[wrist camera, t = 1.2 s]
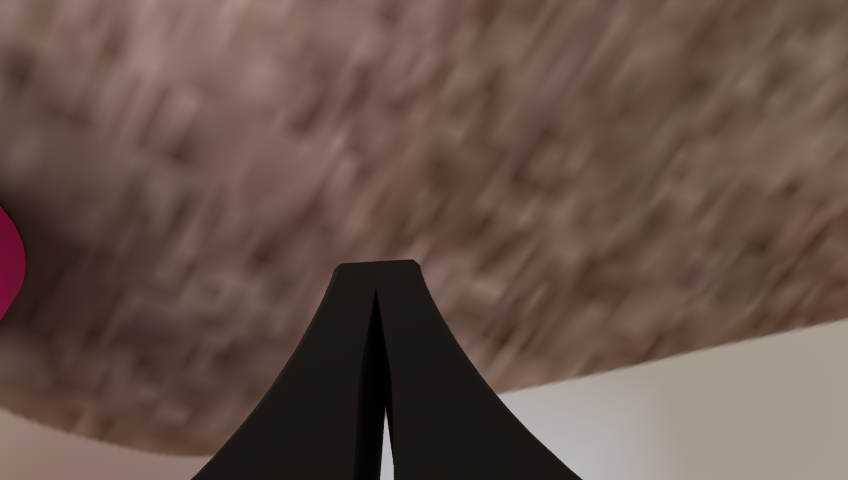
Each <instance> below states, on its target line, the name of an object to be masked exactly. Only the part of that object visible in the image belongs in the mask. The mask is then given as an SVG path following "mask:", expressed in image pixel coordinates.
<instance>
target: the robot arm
mask: <svg viewBox="0 0 848 480" xmlns="http://www.w3.org/2000/svg"><path fill="white" fill-rule="evenodd" d="M385 405H386V413H387V420H388V428H389V435H390V442H391V450H392V457H393V464H394V480H582V479H581V478H580V477H579V476H577V475H576V474H575V473H574V472H573V471H571V470H570V469H569V468H568V467H567V466H566V465H565V464H564V463H563V462H562V461H561V460H559V459H558V458H557V457H556V456H555V455H554V454H553V453H552V452H551V451H550V450H548V449H547V447H545V446H544V445H543V444H542V443H541V442H540V441H539V440H538V439H537V438H536V437H535V436H534V435H532V434H531V433H530V432H529V430H528V429H526V427H525V426H524V425H523V424H522V423H521V422H520V421H519V420H518V419H517V418H516V417H515V416H514V415H513V414H512V412H511V411H510V410H509V409H508V408H507V407H506V406H505V404H504V403H503V402H502V401H501V400H500V399H499V397H498V396H497V395H496V394H495V393H494V392H493V390H492V389H491V388H490V387H489V385H488V384H487V383H486V382H485V380H484V379H483V378H482V376H481V375H480V374H479V372H478V371H477V370H476V368H475V367H474V366H473V364H472V363H471V361H470V360H469V359H468V357H467V356H466V354H465V353H464V351H463V350H462V348H461V347H460V345H459V344H458V342H457V341H456V339H455V337H454V336H453V334H452V333H451V331H450V329H449V328H448V326H447V324H446V323H445V321H444V319H443V318H442V316H441V314H440V312H439V310H438V309H437V307H436V305H435V303H434V301H433V299H432V297H431V295H430V293H429V290H428V288H427V286H426V283H425V281H424V278H423V275H422V272H421V269H420V265H419V264H418V263H417V262H415V261H414V260H413V259H412V260H394V261H377V262H359V263H342V264H340V265H338V266H337V267H336V268H335V269H334V272H333V275H332V278H331V281H330V283H329V286H328V288H327V291H326V293H325V295H324V297H323V299H322V302H321V304H320V306H319V308H318V310H317V312H316V314H315V316H314V318H313V319H312V321H311V323H310V325H309V327H308V328H307V330H306V332H305V334H304V336H303V337H302V339H301V341H300V343H299V345H298V346H297V348H296V350H295V351H294V353H293V354H292V356H291V357H290V359H289V360H288V362H287V363H286V365H285V367H284V368H283V370H282V371H281V373H280V374H279V376H278V377H277V379H276V380H275V382H274V383H273V385H272V386H271V387H270V389H269V390H268V392H267V393H266V394H265V396H264V397H263V398H262V400H261V401H260V402H259V404H258V405H257V406H256V408H255V409H254V410H253V411H252V413H251V414H250V415H249V416H248V418H247V419H246V420H245V421H244V423H243V424H242V425H241V426H240V427H239V429H238V430H237V431H236V432H235V433H234V434H233V435H232V437H231V438H230V439H229V440H228V441H227V442H226V443H225V444H224V446H223V447H222V448H221V449H220V450H219V451H218V452H217V453H216V455H215V456H214V457H213V458H212V459H211V460H210V461H209V462H208V463H207V464H206V465H205V466H204V467H203V468H202V469H201V470H200V471H199V472H198V473H197V474H196V475H195V476H194V477H193V478H192V479H191V480H380V472H381V460H382V446H383V433H384V432H383V431H384V419H385Z"/></svg>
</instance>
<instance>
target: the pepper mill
mask: <svg viewBox="0 0 848 480" xmlns="http://www.w3.org/2000/svg"><path fill="white" fill-rule="evenodd" d="M25 268H26V260H25V253H24V246H23V243H22V241H21V238H20V236H19V234H18V232H17V229H16V227H15V225H14V223H13V222H12V220H11V219H10V218H9V216H8V215H7V214H6V213H5V211H4V210H3V209H2V208H1V206H0V321H1V319H2V317H3V316H4V314H5V313H6V311H7V310H8V308H9V306H10V305H11V303H12V302H13V300H14V299H15V297H16V295H17V294H18V292H19V291H20V288H21V286H22V283H23V281H24V276H25Z"/></svg>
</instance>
